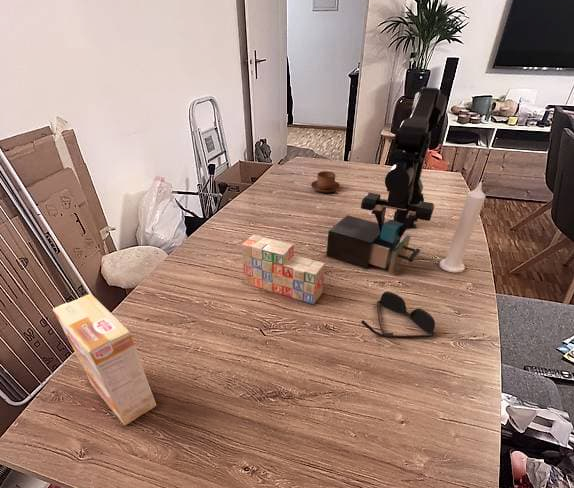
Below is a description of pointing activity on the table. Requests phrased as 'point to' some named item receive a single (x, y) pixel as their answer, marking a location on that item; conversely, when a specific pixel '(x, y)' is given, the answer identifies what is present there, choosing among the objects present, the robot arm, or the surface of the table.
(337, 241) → the cabinet
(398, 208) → the robot arm
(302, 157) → the table surface
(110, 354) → the coffeecake box
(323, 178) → the cup and saucer
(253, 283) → the stack of blocks
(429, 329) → the sunglasses
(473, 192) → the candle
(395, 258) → the drawer
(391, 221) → the block
